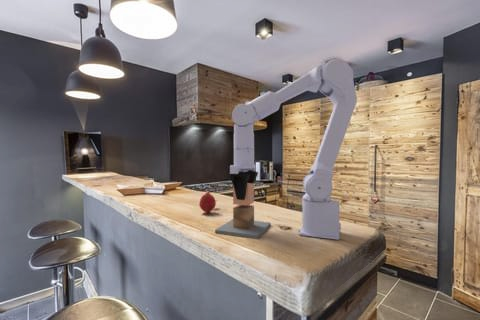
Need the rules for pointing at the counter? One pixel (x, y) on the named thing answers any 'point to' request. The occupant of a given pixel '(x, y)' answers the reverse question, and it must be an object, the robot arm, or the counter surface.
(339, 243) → the counter surface
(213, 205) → the onion
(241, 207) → the walnut block
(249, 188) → the terracotta block
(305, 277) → the counter surface
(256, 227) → the slate board
